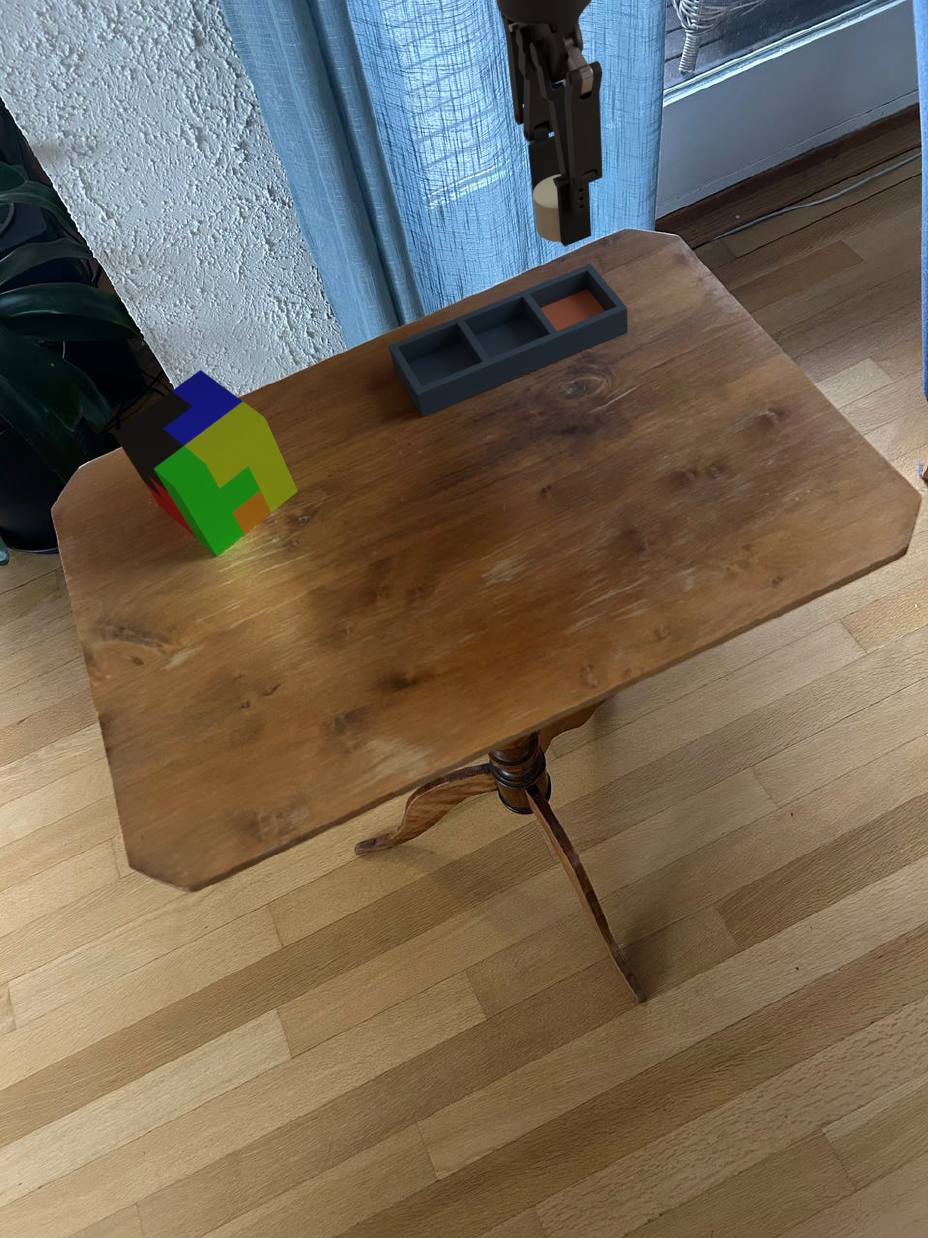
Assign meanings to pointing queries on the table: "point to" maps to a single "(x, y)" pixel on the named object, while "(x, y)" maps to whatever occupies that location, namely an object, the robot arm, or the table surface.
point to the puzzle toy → (208, 461)
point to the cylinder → (547, 210)
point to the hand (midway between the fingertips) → (562, 222)
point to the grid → (508, 339)
